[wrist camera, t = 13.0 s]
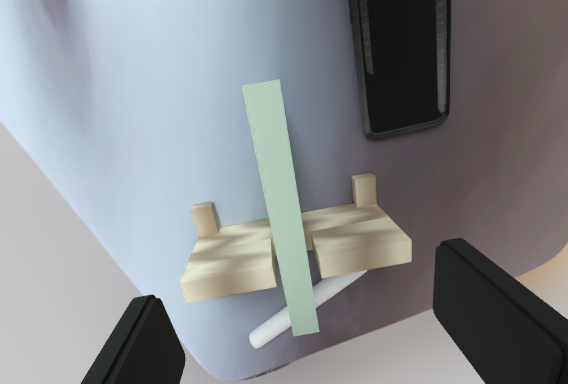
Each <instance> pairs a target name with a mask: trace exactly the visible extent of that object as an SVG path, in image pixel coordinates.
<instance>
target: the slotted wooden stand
mask: <svg viewBox="0 0 568 384" xmlns="http://www.w3.org/2000/svg"><path fill="white" fill-rule="evenodd" d="M351 181H352V193H353V203H351V204H346V205H340V206H335V207H329V208H324V209H318V210H313V211H308V212H302V213H301V218H302V225H303V231H304V237H305V244H306V250H307V251H310V250H313V251H314V255H315V258H316V261H317V264H318V268H319V271H320V274H321V278H327V277H332V276H338V275H343V274H348V273H354V272H359V271H365V270H370V269H375V268H381V267H386V266H392V265H397V264H402V263H408V262H412V240H411V239H410V238H409V237H408V236H407V235H406V234H405V233H404V232H403V231H402V230H401V229H400V228H399V227H398V226H397V225H396V224H395V223H394V222H393V220H392V219H391V218H390V217H389V216H388V215H387V214H386V213H385V212H384V211H383V210H382V209H381V208H380V207H379V206H378V205H377V199H376V177H375V175H374V174H372V173H371V172H370V173H365V174H359V175H354V176H351ZM190 212H191V215H192V218H193V221H194V224H195V227H196V230H197V233H198V236H199V238H198V240H197V242H196V245H195V247H194V249H193V252H192V254H191V256H190V259H189V261H188V263H187V266H186V268H185V270H184V272H183V275H182V277H181V279H180V282H179V285H180V288H181V290H182V293H183V296H184V298H185V301H186V303H192V302H198V301H203V300H208V299H214V298H219V297H225V296H230V295H235V294H241V293H246V292H252V291H257V290H262V289H268V288H273V287H277V282H276V267H275V257H277V254H276V250H275V245H274V240H273V235H272V230H271V226H270V221H269V219H264V220H259V221H253V222H248V223H243V224H237V225H232V226H226V227H221V228H220V224H219V221H218V218H217V214H216V211H215V207H214V204H213V202H207V203H202V204H196V205H193V206H192V208H191V209H190Z"/></svg>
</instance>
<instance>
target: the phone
mask: <svg viewBox="0 0 568 384" xmlns="http://www.w3.org/2000/svg"><path fill="white" fill-rule="evenodd" d="M349 7H350V20H351V24H352V30H353V40H354V49H355V59H356V68H357V78H358V87H359V97H360V106H361V116H362V125H363V131H364V133H365V134H366V135H367V136H368V137H370V138H373V139H381V138H385V137H390V136H394V135H398V134H403V133H407V132H412V131H416V130H420V129H425V128H429V127H433V126H437V125H440V124H442V123H443V122H444V121H445V120H446V119H447V117H448V115H449V110H450V37H451V0H349Z"/></svg>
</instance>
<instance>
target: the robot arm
mask: <svg viewBox="0 0 568 384" xmlns="http://www.w3.org/2000/svg"><path fill="white" fill-rule="evenodd" d="M433 311H434V314H435V316H436V318H437V319H438V320H439V322H440V323H441V324H442V326H443V327H444V329H445V330H446V331H447V333H448V334H449V335H450V337H451V338H452V339H453V341H454V342H455V343H456V345H457V346H458V347H459V349H460V350H461V351H462V353H463V354H464V355H465V357H466V358H467V360H468V361H469V362H470V363H471V365H472V366H473V368H474V369H475V370H476V372H477V373H478V374H479V376H480V377H481V378H482V380H483V381H484V382H485V384H568V319H566V318H565V317H563V316H562V315H561V314H560V313H558V312H557V311H556V310H554V309H553V308H552V307H551V306H549V305H548V304H547V303H545V302H544V301H543V300H542V299H540V298H539V297H538V296H536V295H535V294H534V293H533V292H531V291H530V290H529V289H527V288H526V287H525V286H523V285H522V284H521V283H520V282H518V281H517V280H516V279H514V278H513V277H512V276H510V275H509V274H508V273H507V272H505V271H504V270H503V269H501V268H500V267H499V266H498V265H496V264H495V263H494V262H492V261H491V260H490V259H488V258H487V257H486V256H485V255H483V254H482V253H481V252H479V251H478V250H477V249H475V248H474V247H473V246H472V245H470V244H469V243H468V242H466V241H465V240H464V239H462V238H457V239H451V240H446V241H442V242H441V243H440V246H438V247H437V248H436V257H435V275H434V293H433ZM184 366H185V353H184V350H183V348H182V346H181V344H180V341H179V339H178V337H177V335H176V332H175V330H174V328H173V325H172V323H171V321H170V319H169V316H168V314H167V312H166V310H165V307H164V305H163V303H162V301H161V299H160V298H156V297H155V296H154V295H147V296H142V297H137V298H134V299H133V300H132V301H131V302H130V304H129V306H128V307H127V309H126V311H125V312H124V314H123V316H122V317H121V319H120V320H119V322H118V323H117V325H116V327H115V328H114V330H113V332H112V333H111V335H110V337H109V338H108V340H107V341H106V343H105V345H104V346H103V348H102V350H101V351H100V353H99V354H98V356H97V358H96V359H95V361H94V363H93V364H92V366H91V368H90V369H89V371H88V372H87V374H86V376H85V377H84V379H83V381H82V382H81V384H180V380H181V376H182V373H183V369H184Z"/></svg>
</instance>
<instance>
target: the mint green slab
mask: <svg viewBox="0 0 568 384" xmlns="http://www.w3.org/2000/svg"><path fill="white" fill-rule="evenodd" d="M242 91H243V96H244V101H245V106H246V110H247V115H248V120H249V125H250V130H251V134H252V139H253V144H254V149H255V154H256V158H257V163H258V168H259V173H260V178H261V182H262V187H263V192H264V197H265V202H266V206H267V211H268V216H269V221H270V226H271V230H272V235H273V240H274V245H275V250H276V254H277V259H278V264H279V269H280V274H281V278H282V283H283V288H284V293H285V298H286V302H287V307H288V312H289V317H290V322H291V326H292V331H293V336H300V335H305V334H311V333H316V332H319V326H318V320H317V313H316V307H315V301H314V294H313V288H312V282H311V275H310V269H309V263H308V256H307V250H306V244H305V237H304V231H303V225H302V218H301V212H300V205H299V199H298V193H297V186H296V180H295V174H294V167H293V161H292V155H291V148H290V142H289V136H288V129H287V123H286V117H285V110H284V104H283V98H282V91H281V85H280V79H278V80H272V81H267V82H261V83H255V84H250V85H244V86H242Z"/></svg>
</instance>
